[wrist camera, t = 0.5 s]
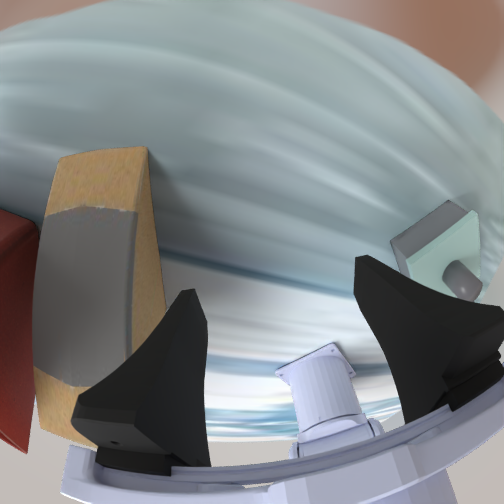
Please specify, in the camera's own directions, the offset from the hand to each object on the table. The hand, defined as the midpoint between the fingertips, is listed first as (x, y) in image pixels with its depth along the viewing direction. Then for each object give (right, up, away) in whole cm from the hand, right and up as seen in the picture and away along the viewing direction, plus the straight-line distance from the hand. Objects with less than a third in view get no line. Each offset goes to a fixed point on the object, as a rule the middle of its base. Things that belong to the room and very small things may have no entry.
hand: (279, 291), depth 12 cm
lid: (+17, 0, +9) cm, 20 cm away
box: (+17, +2, +12) cm, 21 cm away
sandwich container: (-13, +3, +9) cm, 16 cm away
